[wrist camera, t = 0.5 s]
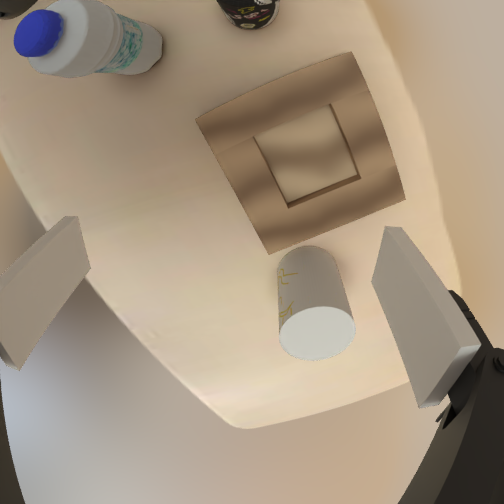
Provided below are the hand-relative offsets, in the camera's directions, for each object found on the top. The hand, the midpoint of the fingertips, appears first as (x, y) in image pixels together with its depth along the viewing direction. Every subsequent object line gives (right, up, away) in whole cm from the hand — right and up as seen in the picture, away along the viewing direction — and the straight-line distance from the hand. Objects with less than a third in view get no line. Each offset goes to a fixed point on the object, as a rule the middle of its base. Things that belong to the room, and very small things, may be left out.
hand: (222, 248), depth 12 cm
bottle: (-11, +23, +15) cm, 30 cm away
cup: (+9, -3, +29) cm, 30 cm away
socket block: (+7, +11, +21) cm, 25 cm away
